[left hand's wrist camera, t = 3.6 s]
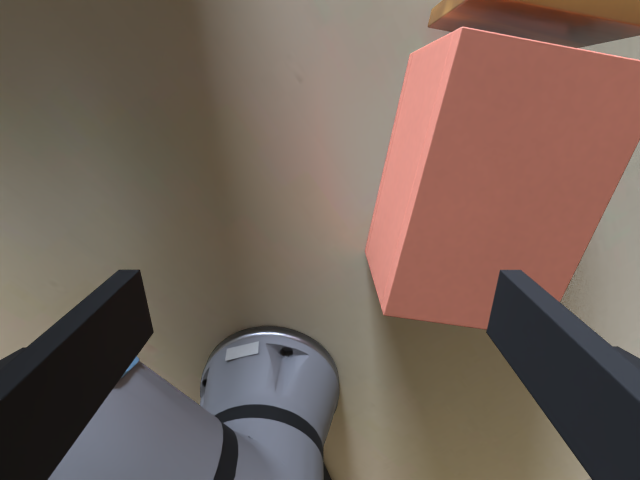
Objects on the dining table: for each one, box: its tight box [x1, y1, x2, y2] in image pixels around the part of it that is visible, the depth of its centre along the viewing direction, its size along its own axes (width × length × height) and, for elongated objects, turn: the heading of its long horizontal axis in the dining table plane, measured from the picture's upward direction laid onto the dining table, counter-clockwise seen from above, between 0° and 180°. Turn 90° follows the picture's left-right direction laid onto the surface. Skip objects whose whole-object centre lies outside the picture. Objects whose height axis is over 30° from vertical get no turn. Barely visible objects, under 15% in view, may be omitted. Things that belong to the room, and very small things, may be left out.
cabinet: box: [365, 27, 640, 330], centre depth 26 cm, size 17×12×11 cm, turn 171°
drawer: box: [428, 0, 640, 48], centre depth 23 cm, size 22×10×9 cm, turn 171°
